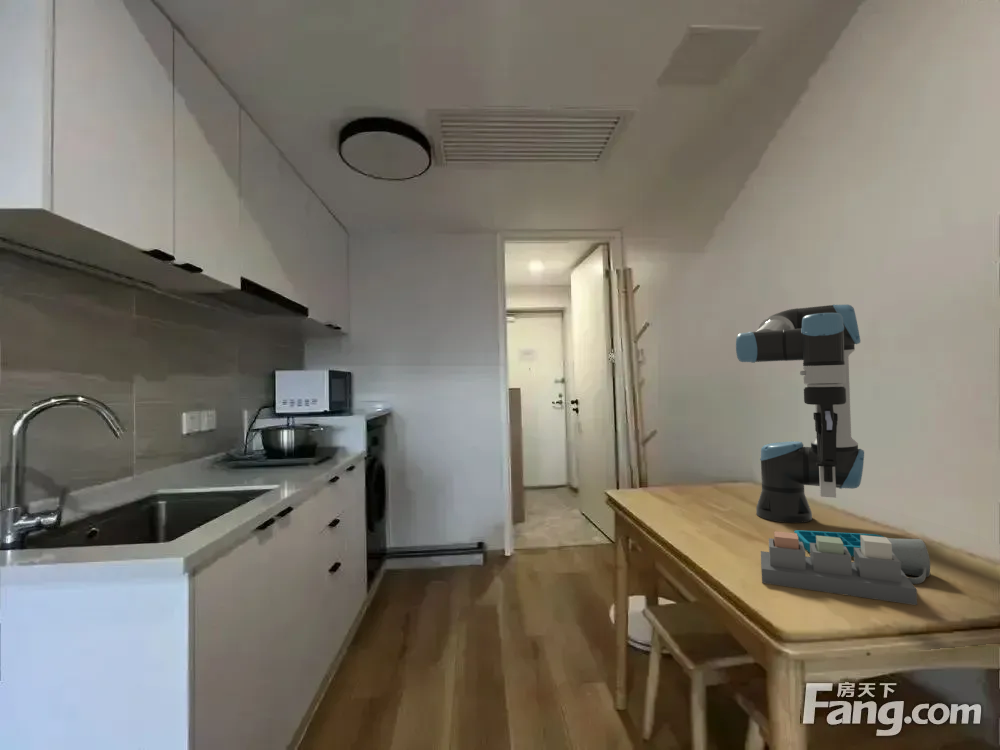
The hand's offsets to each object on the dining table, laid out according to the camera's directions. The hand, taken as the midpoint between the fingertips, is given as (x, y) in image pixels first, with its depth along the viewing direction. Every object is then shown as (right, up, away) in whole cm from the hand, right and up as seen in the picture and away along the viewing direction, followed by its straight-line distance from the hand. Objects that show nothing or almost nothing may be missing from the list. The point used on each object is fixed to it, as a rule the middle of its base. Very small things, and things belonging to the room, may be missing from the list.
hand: (828, 496), depth 105 cm
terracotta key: (-7, -14, +3) cm, 16 cm away
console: (0, -18, 0) cm, 18 cm away
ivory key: (+7, -12, -4) cm, 15 cm away
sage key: (0, -14, 0) cm, 14 cm away
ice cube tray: (+17, -19, +19) cm, 32 cm away
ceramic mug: (+19, -18, +2) cm, 26 cm away
